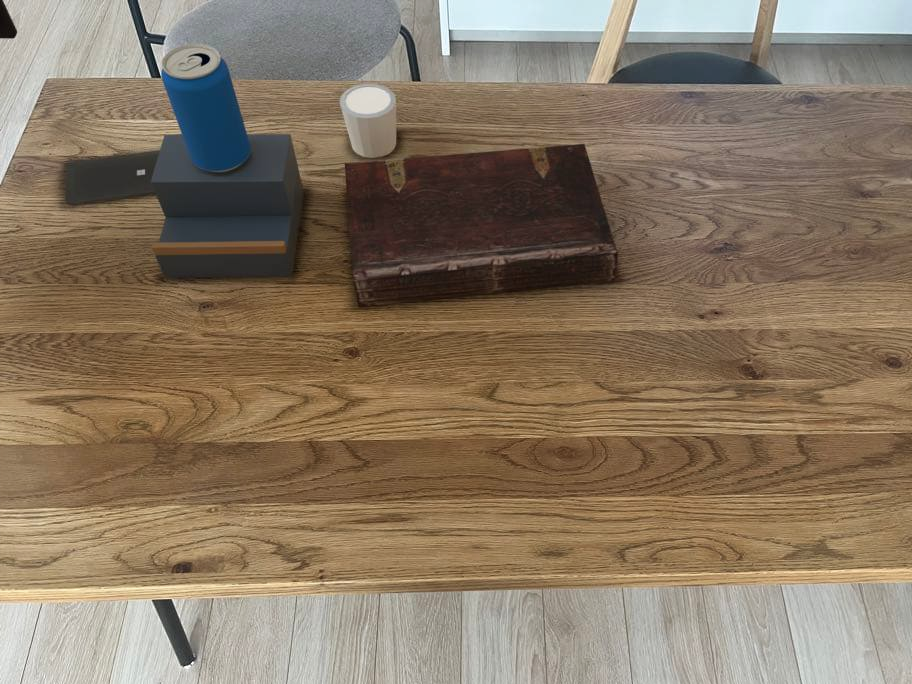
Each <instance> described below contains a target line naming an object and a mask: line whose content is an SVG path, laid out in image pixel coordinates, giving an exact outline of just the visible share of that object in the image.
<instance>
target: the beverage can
mask: <svg viewBox="0 0 912 684" xmlns="http://www.w3.org/2000/svg"><path fill="white" fill-rule="evenodd" d="M161 67H162V69H161V80H162V84H163V86H164V89H165V91H166V94H167V97H168V100H169V103H170V106H171V108H172V111H173V113H174V116H175V120H176V122H177V125H178V128H179V130H180V133H181V135H182V136H183V139H184V142H185V144H186V147H187V150H188V153H189V155H190V158H191V160H192V162H193V163H194V164H195V165H196V166H197V167H199V168H201V169H204V170H208V171H212V172H226V171H230V170H232V169H235V168H237V167H238V166H239V165H241V164H242V163H243V162H244V161H245V160H246V159H247V158H248V156H249V154H250V151H251V147H250V143H249V139H248V136H247V134H248V133H247V129H246V125H245V122H244V119H243V115H242V112H241V108H240V105H239V102H238V98H237V94H236V91H235V88H234V84H233V81H232V76H231V74H230V70H229V67H228V64H227V62H226V61H225V59H224V58H223V57H221V55H220V53H219V51H218V50H217V49H216V48H215V47H213V46H210V45H208V44H204V43H188V44H183V45H180V46H176V47H174V48H173V49H171V50H169V51H168V52H166V54H165V55H164V56H163V58H162V59H161Z"/></svg>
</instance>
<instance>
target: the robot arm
mask: <svg viewBox="0 0 912 684" xmlns="http://www.w3.org/2000/svg"><path fill="white" fill-rule="evenodd" d="M17 34H18V30H17V28H16V26H15V23H14V21H13V19H12V16H11V14H10V13H9V10H8V8H7V6H6V3H5V2H4V0H0V39H9V40H11V39H15V38H16V36H17Z"/></svg>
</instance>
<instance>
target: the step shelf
mask: <svg viewBox="0 0 912 684" xmlns="http://www.w3.org/2000/svg"><path fill="white" fill-rule="evenodd" d="M247 136H248V139H249V143H250V147H251V151H250V154H249V156H248V158H247V159H246V160H245V161H244V162H243V163H242V164H241V165H239V166H238V167H237V168H235V169H232V170H230V171H226V172H212V171H208V170H204V169H201V168H199V167H197V166H196V165H195V164H194V163H193V162H192V160H191V158H190V155H189V153H188V150H187V147H186V144H185V142H184V139H183V136H182V134H164V135H163V139H162V141H161V146H160V149H159V151H160V152H159V156H158V159H157V163H156V166H155V170H154V173H153V176H152V180H151V184H152V186H153V189H154V191H155V193H156V194H155V195H156V198H157V201H158V203H159V205H160V208H161V210H162V212H163V215H164V221H163V225H162V228H161V232H160V236H159V240H158V242H152V245H151V249H152V251H153V254H154V256H155V258H156V260H157V263H158V264H159V267H160V269H161V272H162V274H163V276H164V278H165V279H181V278H183V279H189V278H191V279H193V278H244V277H245V278H247V277H248V278H249V277H250V278H252V277H253V278H255V277H292V276H293V275H294V267H295V261H296V252H297V245H298V239H299V231H300V224H301V217H302V210H303V209H302V208H303V203H304V201H303V200H304V195H305V191H304V187H303V182H302V178H301V173H300V169H299V165H298V161H297V156H296V152H295V148H294V144H293V140H292V135H291V134H290V133H256V134H255V133H247Z"/></svg>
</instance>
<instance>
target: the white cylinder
mask: <svg viewBox="0 0 912 684" xmlns="http://www.w3.org/2000/svg"><path fill="white" fill-rule="evenodd" d="M339 106H340V109H341V112H342V116H343V120H344V123H345V127H346V130H347V134H348V137H349V141H350V145H351V148H352V150H353V151H354V152H355V153H356V154H357V155H359V156H361V157H363V158H369V159H370V158H371V159H376V158H382V157H385V156H386V155H389V154H390V153H392V152H393V151H394V150H395V148H396V145H397V98H396V95H395V93H394V92H393V91H392V90H391V89H390V88H389V87H386V86H383V85H381V84H378V83H377V84H376V83H362V84H356V85H355V86H352V87H350V88H347V90H345V91H344V92H343V93H342V94H341V96H340V98H339Z"/></svg>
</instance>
